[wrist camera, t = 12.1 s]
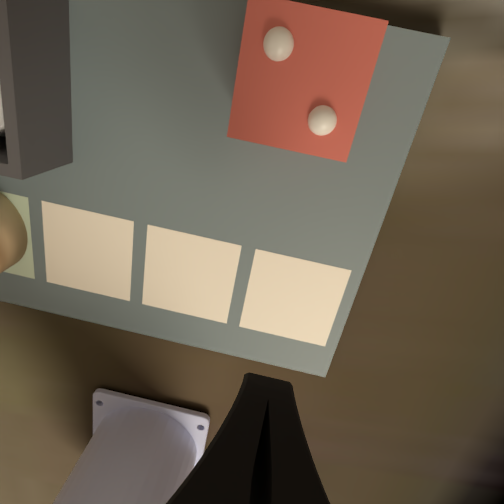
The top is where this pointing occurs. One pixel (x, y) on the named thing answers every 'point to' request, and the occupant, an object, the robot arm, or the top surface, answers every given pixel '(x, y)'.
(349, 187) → the board
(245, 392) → the robot arm
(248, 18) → the die
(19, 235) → the pawn
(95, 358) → the top surface
